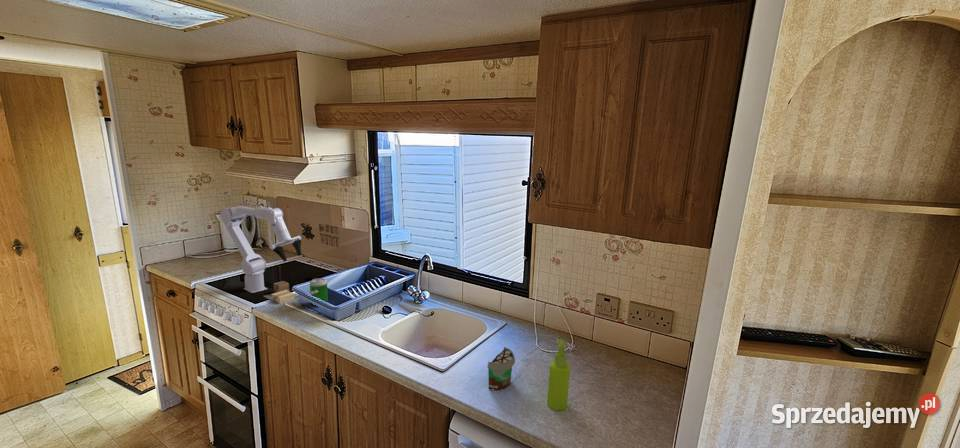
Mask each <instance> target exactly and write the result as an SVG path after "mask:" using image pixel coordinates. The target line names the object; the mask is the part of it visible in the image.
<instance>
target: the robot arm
mask: <svg viewBox="0 0 960 448" xmlns="http://www.w3.org/2000/svg"><path fill="white" fill-rule="evenodd" d="M246 216H254V217H255V218H256V219H259V220H266V222H268V223H269V225H270V226H271V227H272V230H273V232H274V234H275V237H276V239H277V241H278V242H276V243H273V244H271V245H269V247H270V249H271V251H273V252H274V253H275V254H276V255H277V256H279V257H280V259H281V260H282V261H283V262H287V261H288V260H287V259H288V258H287V257H286V254H285V252H284V247H283V246H287V245H290V244H291V245H292V246H293V248H294V249H295V251H296V254H297V256H298V257H301V256H302V255H303V254H302V250H301V249H302V248H301V246H302V237H301V235H297V236H295V237H291V235H290V232H289V230H288V228H287V225H286V222H285V220H284V212H283V209H281V208H279V207H275V208H272V206H271V207H269V206H268V207H264V206H263V205H259V206H256V207H255V208H254V207H250V206H245V205H237V206H233V207H224V208H222V209H221V210H220V214H219V218H220V219H221V221H222V222H223V224H224V226H225V228H226V230H227V232H228V233H229V236H230V237H231V239H232V241H233V242H234V245H235V246H236V248H237V250H238V251H239V253H240V254H241V257H242V260H241V261H240V266H241V267H242V268H241V269H242V271H243V273H244V288H243V290H246V291H247V292H249V293H252V294H253V293H257V292H262V291H265V290H268V287H265V280H264V279H265V278H264V272H265V271H266V269H267V262H266V260H265V259H264V258H263V257H262V256H261V255H260V254H258V253H255V251H254V250H253V248H252V246H251V245H250V243H249V241H248V240H247V238H246V236H245V234H244V232H243V230H242V229H241V227H240V225H241V224H242V222H243V221H244V219H245V217H246Z"/></svg>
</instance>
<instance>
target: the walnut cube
mask: <svg viewBox="0 0 960 448" xmlns="http://www.w3.org/2000/svg"><path fill="white" fill-rule="evenodd" d="M285 290H287V291H290V283H289V282H287V281H285V280H282V281H278V282H274V283H273V293H277V292H281V291H285Z"/></svg>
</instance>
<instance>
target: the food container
mask: <svg viewBox="0 0 960 448" xmlns="http://www.w3.org/2000/svg"><path fill="white" fill-rule="evenodd" d="M515 363H516V358H515V355H514V352H513V351H512V349H510V348H508V347H506V346H503V350H501V352H500V353H498V354H497V355H496V356H495V358H493V360H492V361H488V363H487V369H488V371H487V372H488V374H487V375H488V389H489V390H491V389H494V390H493V391H502V390H501V389H503V390H506V389H508V388H509V387H510V385H511V379H512V371H513V366H514V365H515ZM508 386H509V387H508ZM507 387H508V388H507ZM505 388H506V389H505Z"/></svg>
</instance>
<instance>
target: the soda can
mask: <svg viewBox="0 0 960 448" xmlns="http://www.w3.org/2000/svg"><path fill="white" fill-rule="evenodd" d="M309 293H310V294H311V295H312V296H315V297H317V298H320V299H321V300H324V301H328V302H329V299H328V298H329V296H328V295H329V294H328V293H329V292H328V281H327V280H326V279H325V278H319V277H318V278H313V279H312V280H311V281H310V282H309Z"/></svg>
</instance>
